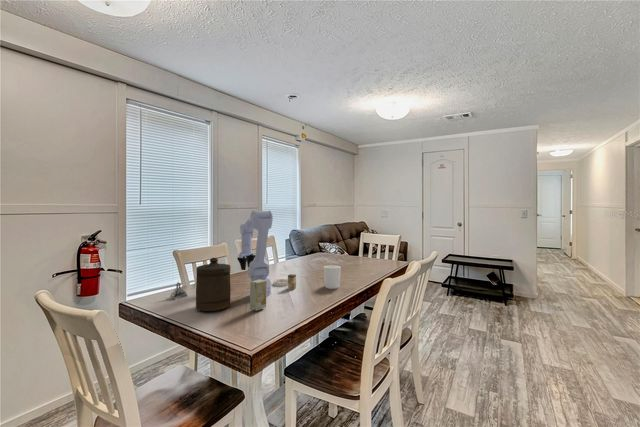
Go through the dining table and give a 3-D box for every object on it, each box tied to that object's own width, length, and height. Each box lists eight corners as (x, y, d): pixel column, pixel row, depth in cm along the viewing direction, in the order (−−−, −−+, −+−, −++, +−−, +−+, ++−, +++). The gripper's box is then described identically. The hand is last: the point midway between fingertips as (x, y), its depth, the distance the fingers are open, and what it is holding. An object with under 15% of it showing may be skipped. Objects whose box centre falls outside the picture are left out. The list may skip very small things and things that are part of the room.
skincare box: (256, 311, 127) (256, 282, 127) (249, 309, 130) (249, 281, 130) (266, 307, 133) (266, 280, 133) (259, 305, 135) (259, 278, 135)
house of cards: (180, 293, 156) (180, 278, 156) (190, 295, 152) (190, 280, 152) (163, 297, 148) (163, 282, 148) (174, 300, 144) (174, 284, 144)
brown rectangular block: (296, 288, 165) (296, 274, 164) (293, 290, 161) (293, 275, 161) (289, 288, 165) (289, 274, 165) (287, 290, 162) (287, 275, 162)
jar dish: (291, 283, 176) (291, 279, 176) (286, 287, 168) (286, 283, 168) (277, 282, 179) (277, 278, 179) (271, 286, 170) (271, 282, 170)
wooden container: (236, 302, 140) (236, 256, 140) (219, 312, 126) (219, 261, 125) (208, 300, 143) (208, 255, 143) (188, 310, 129) (188, 259, 128)
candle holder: (320, 288, 164) (321, 267, 164) (327, 284, 173) (327, 264, 173) (337, 290, 161) (337, 268, 161) (343, 286, 170) (343, 265, 170)
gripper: (246, 243, 177) (246, 266, 177) (233, 246, 162) (233, 270, 162) (257, 243, 175) (257, 266, 175) (245, 246, 161) (245, 271, 161)
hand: (246, 268), depth 169 cm, fingers open, 7 cm apart
